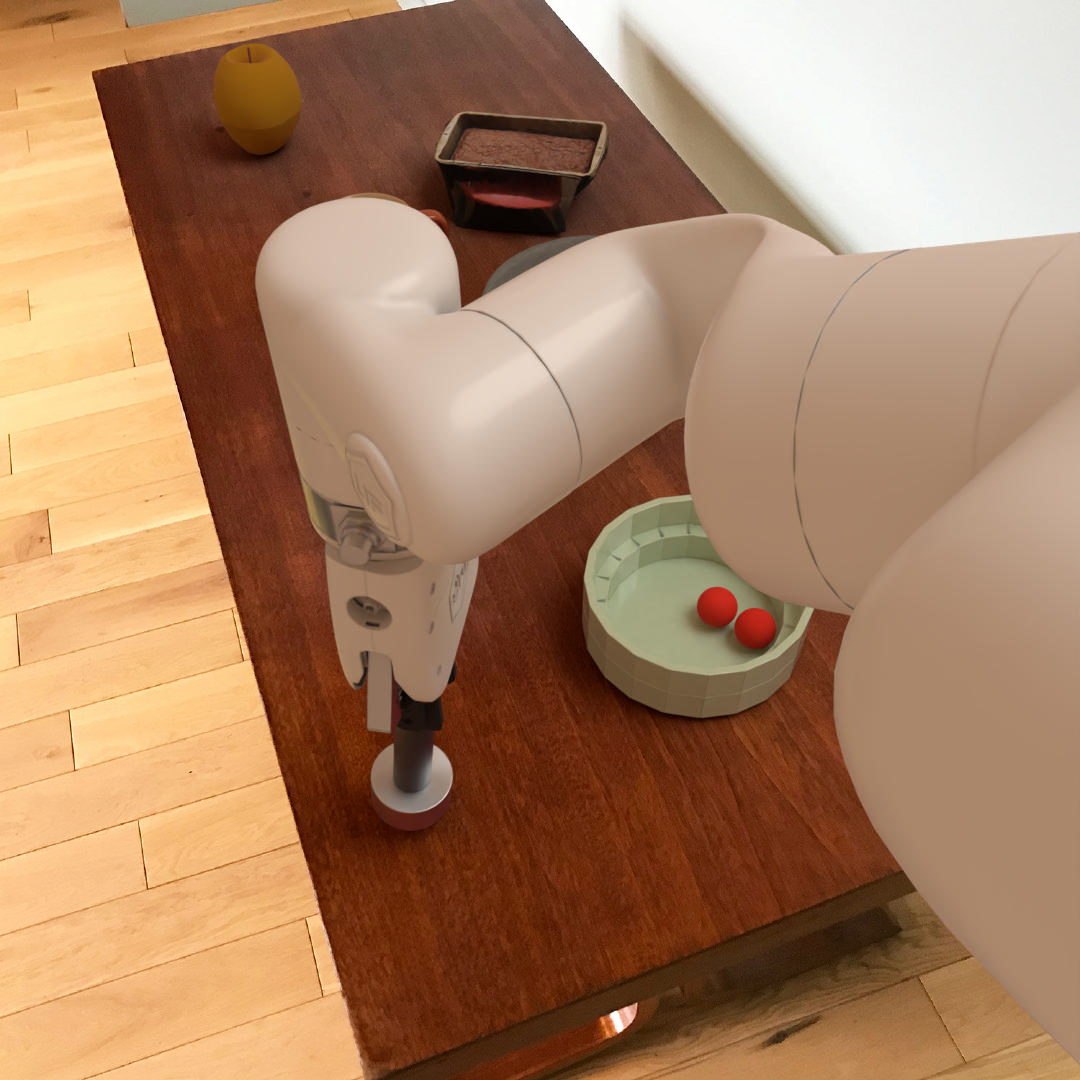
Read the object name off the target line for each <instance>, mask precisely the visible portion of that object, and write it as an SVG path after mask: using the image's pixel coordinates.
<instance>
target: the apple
mask: <svg viewBox="0 0 1080 1080" xmlns="http://www.w3.org/2000/svg"><path fill="white" fill-rule="evenodd" d="M291 67H292V66H291V65H290V64H289V63H288V62H287V61H286V59H285V58H284V57H283V56H282V55H281V54H279V52H278V51H277V50H276V49H275V48H272V47H271V46H268V45H266V44H263V43H244V44H241V45H239V46H237V47H234V48H233V49H232V48H231V49H229V50H228V51H226V53H224V54H223V55H222V56H221V57H220V59H219V61H218V63H217V66H216V68H215V71H214V73H213V74H214V75H213V88H212V99H213V103H214V106H215V110H216V113H217V117H218V119H219V122H220V124H221V125H222V127H223V128H224V129H225V131H226V132H227V134H228V136H230V138H231V139H232V141H234V142H235V143H236V144H238V145H239V146H240V147H241V148H242V149H243V150H245V151H246V152H247V153H248V154H252V155H255V156H263V155H270V154H272V153H274V152H276V151H279V150H280V149H281V148H282V147H284V146H285V145H286V144H287V143H288V142H289V140H290V139H291V137H292V135H293V133H294V131H295V130H296V127H297V125H298V123H299V120H300V119H301V112H302V108H303V100H302V92H301V89H300V85H299V82H298V79H297V76H296V73H295V71H294V70H293V68H291Z"/></svg>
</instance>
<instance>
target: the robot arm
mask: <svg viewBox="0 0 1080 1080" xmlns="http://www.w3.org/2000/svg"><path fill="white" fill-rule="evenodd" d="M337 199H338V200H337ZM337 199H334V200H329V201H325V202H322V203H318V204H314V205H312V206H310V207H308V208H305V209H302V210H301V211H299V212H297V213H296V214H294V215H293V216H291V217H288V219H286V220H285V221H283V222H282V223H281V224H280V225H279V226H278V227H276V228H275V229H274V230H273V231H272V233H271V234H270V235H269V236H268V238H267V239H266V241H265V242H264V244H263V245H262V247H261V249H260V253H259V255H258V258H257V262H256V265H255V278H254V285H255V291H256V292H255V293H256V298H257V304H258V308H259V313H260V316H261V321H262V326H263V330H264V333H265V337H266V342H267V346H268V351H269V355H270V358H271V363H272V367H273V371H274V375H275V380H276V384H277V388H278V393H279V396H280V400H281V405H282V408H283V412H284V417H285V421H286V426H287V429H288V433H289V438H290V443H291V446H292V450H293V454H294V459H295V461H296V462H295V463H296V466H297V469H298V475H299V479H300V482H301V487H302V492H303V494H304V499H305V503H306V509H307V512H308V516H309V519H310V522H311V524H312V526H313V528H314V529H315V531H316V533H317V534H318V535H319V536H320V537H321V539H323V541H325V542H324V543H325V545H324V552H325V553H324V554H325V567H326V579H327V589H328V598H329V605H330V615H331V620H332V621H331V622H332V626H333V633H334V638H335V643H336V649H337V654H338V657H339V661H340V665H341V668H342V671H343V673H344V676H345V679H346V680H347V682H348V684H349V686H350V687H351V688H352V689H353V690H355V691H358V690H360V688H364V686H365V684H366V680H367V688H366V689H367V691H366V692H367V693H366V694H367V696H366V697H367V698H366V699H367V702H366V704H367V705H366V708H367V709H366V710H367V711H366V728H367V731H369V732H375V733H380V734H387V735H394V731H395V729H396V727H399V728H400V729H403V730H408V731H415V732H418V731H421V730H422V729H427V730H434V731H435V732H439V731H441V730H442V728H443V725H444V712H443V704H442V694H443V693H444V692H445V690H446V688H447V685H452V683H453V682H455V680H456V676H457V674H458V673H457V663H456V662H457V661H456V656H457V652H458V649H459V645H460V643H461V641H460V640H461V637H462V635H463V631H464V627H465V624H466V619H467V615H468V612H469V608H470V605H471V600H472V597H473V594H474V589H475V585H476V580H477V575H478V572H479V571H478V570H479V564H480V563H479V560H480V557H481V556H483V555H484V554H485V553H487V552H489V551H491V550H493V549H494V548H496V547H497V546H498V545H500V544H502V543H503V542H504V541H506V540H507V539H509V538H510V537H511V536H513V535H514V534H516V533H517V532H519V531H520V530H521V529H523V528H524V527H525V526H526V525H528V524H530V523H531V522H532V521H534V520H536V519H537V518H538V517H539V516H541V515H542V514H544V513H545V512H546V511H547V510H549V509H550V508H552V507H554V505H556V504H558V503H559V502H560V501H561V500H563V499H564V498H566V497H567V496H569V495H570V494H571V493H572V492H574V490H576V489H577V488H578V487H580V486H582V485H583V484H585V483H586V482H588V481H589V480H591V478H594V477H595V476H597V475H598V474H599V473H600V472H602V471H603V470H604V469H606V468H607V467H609V466H610V465H612V464H613V463H614V462H616V461H617V460H619V459H620V458H621V457H623V456H624V455H626V454H627V453H629V451H631V450H633V449H634V448H635V447H638V446H639V445H640V444H642V443H643V442H645V441H646V440H648V439H649V438H650V437H652V436H653V435H655V434H656V433H658V432H659V431H661V430H662V429H663V428H665V427H666V426H668V425H669V424H671V423H672V422H675V421H678V420H680V419H684V430H683V446H684V448H683V449H684V465H685V473H686V479H687V484H688V490H689V493H690V495H691V497H692V500H693V503H694V507H695V510H696V513H697V515H698V518H699V520H700V523H701V525H702V527H703V529H704V531H705V533H706V535H707V537H708V539H709V540H710V542H711V544H712V546H713V548H714V549H715V550H716V552H717V553H718V554H719V556H720V557H721V558H722V560H723V561H724V562H725V563H726V564H727V565H728V566H729V567H730V568H731V569H732V570H733V571H734V572H735V573H736V574H737V575H738V576H740V577H741V578H742V579H743V580H744V581H746V582H747V583H748V584H750V585H751V586H752V587H754V588H755V589H756V590H758V591H760V592H763V593H765V594H767V595H769V596H771V597H774V598H776V599H778V600H781V601H784V602H788V603H792V604H796V605H800V606H805V607H810V608H814V610H815V609H816V610H821V611H824V612H825V611H826V612H831V613H837V614H841V615H846V616H850V617H849V620H848V622H847V625H846V627H845V630H844V633H843V636H842V639H841V640H842V641H841V644H840V647H839V652H838V656H837V659H836V663H835V668H834V672H833V673H834V675H833V719H834V720H833V721H834V726H835V731H836V733H835V734H836V736H837V737H836V738H837V740H838V745H839V748H840V751H841V755H842V760H843V762H844V765H845V767H846V770H847V772H848V775H849V777H850V780H851V783H852V785H853V788H854V790H855V792H856V796H857V798H858V800H859V802H860V804H861V805H862V808H863V810H864V812H865V814H866V815H867V817H868V820H869V821H870V824H871V825H872V828H873V829H874V830H875V832H876V833H877V835H878V837H879V838H880V839H881V841H882V842H883V844H884V845H885V847H886V848H887V849H888V850H889V852H890V854H891V855H892V857H893V858H894V860H895V861H896V863H897V864H898V866H899V867H900V868H901V870H902V871H903V873H904V874H905V875H906V877H907V879H908V880H909V881H910V882H911V884H912V885H913V887H914V889H916V891H917V893H918V894H919V896H920V897H922V899H923V900H924V901H925V902H926V904H927V905H928V907H930V909H931V910H932V911H933V913H934V914H935V915H936V916H937V918H938V919H939V920H940V921H941V922H942V924H943V925H944V926H945V927H946V929H947V930H949V932H950V933H951V934H952V935H953V936H954V937H955V938H956V939H957V940H958V942H959V943H960V944H962V946H963V947H964V948H965V949H966V951H968V953H970V954H971V956H972V957H974V958H975V960H976V961H977V962H978V963H979V964H980V965H981V966H982V967H983V968H984V970H986V971H987V973H989V975H990V976H991V977H992V978H993V979H994V980H995V981H996V982H997V983H998V984H999V985H1000V986H1001V988H1002V989H1003V990H1004V991H1005V992H1006V993H1007V994H1008V995H1009V996H1010V997H1011V999H1012V1000H1014V1002H1016V1004H1017V1005H1018V1006H1019V1007H1020V1008H1021V1009H1022V1010H1023V1011H1024V1012H1025V1013H1026V1014H1027V1015H1028V1016H1029V1017H1030V1018H1031V1019H1032V1020H1033V1021H1034V1022H1035V1023H1036V1024H1037V1025H1038V1026H1039V1027H1040V1028H1041V1029H1042V1030H1043V1031H1044V1032H1045V1033H1046V1034H1047V1035H1048V1036H1049V1037H1050V1038H1052V1040H1053V1041H1054V1042H1055V1043H1057V1045H1059V1046H1060V1048H1061V1049H1063V1051H1064V1052H1066V1053H1067V1054H1068V1056H1070V1057H1071V1058H1072V1060H1073V1061H1075V1063H1077V1065H1078V1066H1080V231H1076V232H1075V231H1074V232H1067V233H1066V232H1065V233H1057V234H1046V235H1036V236H1026V237H1025V236H1024V237H1016V238H1015V237H1014V238H1006V239H1005V238H1004V239H996V240H986V241H976V242H966V243H965V242H964V243H956V244H946V245H945V244H944V245H935V246H927V247H926V246H925V247H913V248H912V247H911V248H904V249H903V248H902V249H893V250H884V251H874V252H873V251H872V252H862V253H850V254H849V253H848V254H835V253H834V252H832V251H831V250H830V249H829V248H828V246H825V245H824V244H822V242H820V241H818V240H817V239H815V238H814V237H812V236H810V235H808V234H806V233H804V232H802V231H799V230H797V229H795V228H793V227H790V226H789V225H786V224H785V223H781V222H779V221H778V220H777V219H773V218H772V217H771V218H770V217H767V216H763V215H761V214H756V213H749V212H748V213H747V212H742V213H741V212H740V213H739V212H738V213H721V214H713V215H706V216H705V215H704V216H695V217H691V218H685V219H680V220H673V221H666V222H660V223H659V222H658V223H654V224H648V225H647V224H646V225H641V226H636V227H631V228H624V229H621V230H616V231H611V232H609V233H605V234H602V235H598V237H595V238H592V239H590V240H587V241H585V242H582V243H580V244H578V245H575V246H573V247H571V248H569V249H567V250H565V251H563V252H561V253H559V254H557V255H555V256H554V257H552V258H550V259H548V260H546V261H544V262H542V263H540V264H538V265H537V266H535V267H533V268H531V269H529V270H527V271H525V272H524V273H522V274H520V275H518V276H517V277H515V278H513V279H511V280H510V281H508V282H506V283H504V284H503V285H501V286H499V287H498V288H496V289H494V290H492V291H491V292H489V293H487V294H485V295H484V296H482V295H481V296H480V297H478V298H477V299H475V300H473V301H472V302H470V303H468V304H466V305H465V306H463V307H462V300H461V299H462V298H461V284H460V276H459V275H460V274H459V267H458V261H457V257H456V254H455V251H454V249H453V247H452V244H451V242H450V239H449V240H448V238H447V237H446V235H445V234H444V233H443V231H442V230H441V229H440V227H439V226H438V224H437V223H436V222H433V221H432V220H431V219H430V218H428V217H427V216H426V215H425V214H423V213H421V212H419V211H420V210H417V209H415V208H414V207H411V206H410V207H408V206H406V205H403V204H400V203H397V202H393V201H389V200H385V199H378V198H364V197H362V198H346V199H340V198H337Z"/></svg>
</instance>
